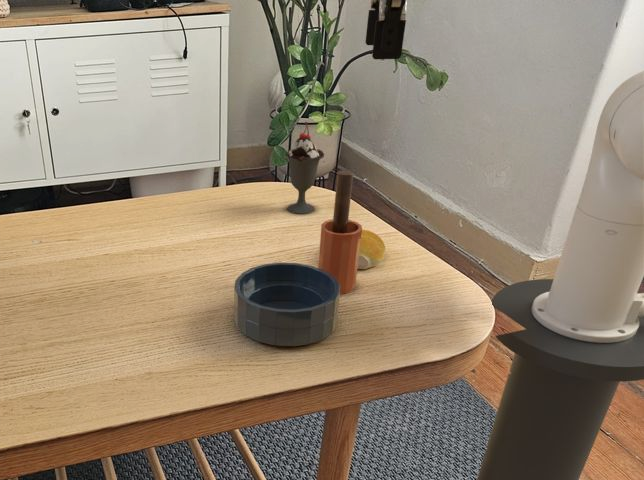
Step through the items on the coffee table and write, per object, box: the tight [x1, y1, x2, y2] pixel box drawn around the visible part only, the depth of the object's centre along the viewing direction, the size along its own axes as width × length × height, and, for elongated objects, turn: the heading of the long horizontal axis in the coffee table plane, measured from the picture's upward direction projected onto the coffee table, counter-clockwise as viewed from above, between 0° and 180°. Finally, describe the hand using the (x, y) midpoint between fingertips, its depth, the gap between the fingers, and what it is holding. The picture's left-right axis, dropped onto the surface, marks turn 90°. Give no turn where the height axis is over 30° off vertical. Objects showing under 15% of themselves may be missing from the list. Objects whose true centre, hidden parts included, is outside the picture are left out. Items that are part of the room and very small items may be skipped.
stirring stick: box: [332, 169, 354, 233], centre depth 88 cm, size 2×2×16 cm
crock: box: [317, 218, 363, 295], centre depth 90 cm, size 5×6×9 cm
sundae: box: [284, 121, 325, 215], centre depth 113 cm, size 7×7×15 cm
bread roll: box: [357, 229, 386, 270], centre depth 99 cm, size 8×9×4 cm
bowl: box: [233, 262, 341, 347], centre depth 84 cm, size 13×13×6 cm
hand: (381, 51), depth 79 cm, fingers open, 9 cm apart
